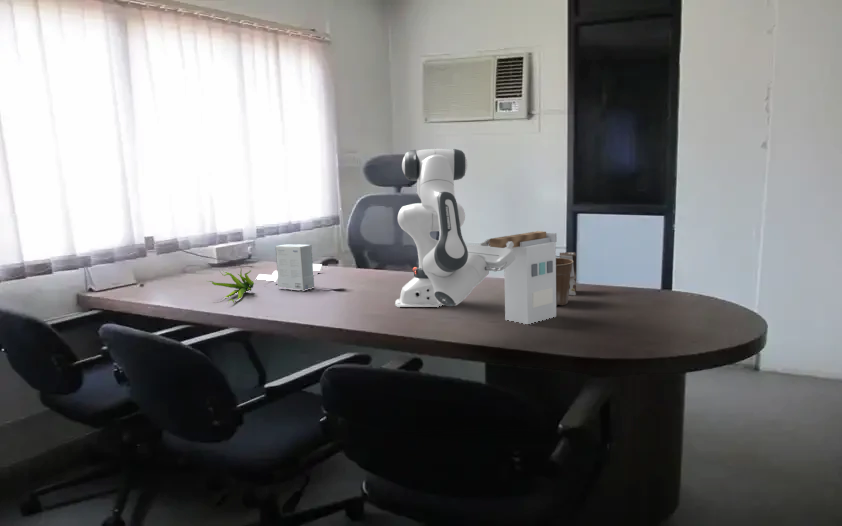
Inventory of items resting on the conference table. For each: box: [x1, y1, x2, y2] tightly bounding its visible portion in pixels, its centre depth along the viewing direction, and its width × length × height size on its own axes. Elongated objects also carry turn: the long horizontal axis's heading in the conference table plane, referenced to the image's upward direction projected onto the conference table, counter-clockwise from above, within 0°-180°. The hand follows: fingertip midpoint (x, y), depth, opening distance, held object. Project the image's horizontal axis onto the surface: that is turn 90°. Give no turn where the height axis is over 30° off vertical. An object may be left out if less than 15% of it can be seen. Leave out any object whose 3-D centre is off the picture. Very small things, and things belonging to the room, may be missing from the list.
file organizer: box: [255, 263, 323, 282], centre depth 329 cm, size 13×35×5 cm, turn 147°
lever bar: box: [489, 230, 547, 248], centre depth 222 cm, size 24×4×4 cm, turn 131°
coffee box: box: [559, 251, 577, 296], centre depth 267 cm, size 9×6×16 cm
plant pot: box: [556, 257, 574, 307], centre depth 251 cm, size 16×16×16 cm
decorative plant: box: [207, 266, 255, 304], centre depth 280 cm, size 18×30×15 cm, turn 153°
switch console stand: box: [503, 232, 558, 325], centre depth 227 cm, size 16×10×29 cm
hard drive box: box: [274, 243, 315, 290], centre depth 298 cm, size 16×8×20 cm, turn 58°
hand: (500, 241), depth 216 cm, fingers open, 8 cm apart
